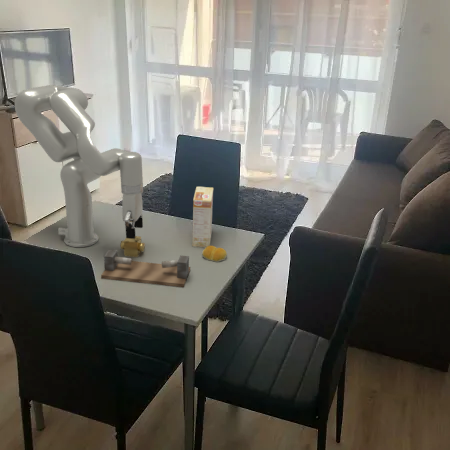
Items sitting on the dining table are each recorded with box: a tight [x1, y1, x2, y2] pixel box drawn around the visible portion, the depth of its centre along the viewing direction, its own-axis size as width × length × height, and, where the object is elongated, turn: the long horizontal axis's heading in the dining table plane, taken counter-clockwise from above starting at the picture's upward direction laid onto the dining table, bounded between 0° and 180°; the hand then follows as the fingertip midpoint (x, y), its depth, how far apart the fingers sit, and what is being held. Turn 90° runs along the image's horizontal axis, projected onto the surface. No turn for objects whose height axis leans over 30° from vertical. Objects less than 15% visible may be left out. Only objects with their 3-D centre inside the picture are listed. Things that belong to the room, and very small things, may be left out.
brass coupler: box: [119, 235, 146, 258], centre depth 183 cm, size 8×5×6 cm, turn 83°
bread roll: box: [201, 245, 228, 263], centre depth 184 cm, size 8×9×4 cm
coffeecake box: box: [191, 186, 214, 248], centre depth 195 cm, size 15×7×20 cm, turn 178°
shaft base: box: [100, 249, 191, 288], centre depth 169 cm, size 28×12×7 cm, turn 83°
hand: (134, 232), depth 180 cm, fingers open, 9 cm apart
